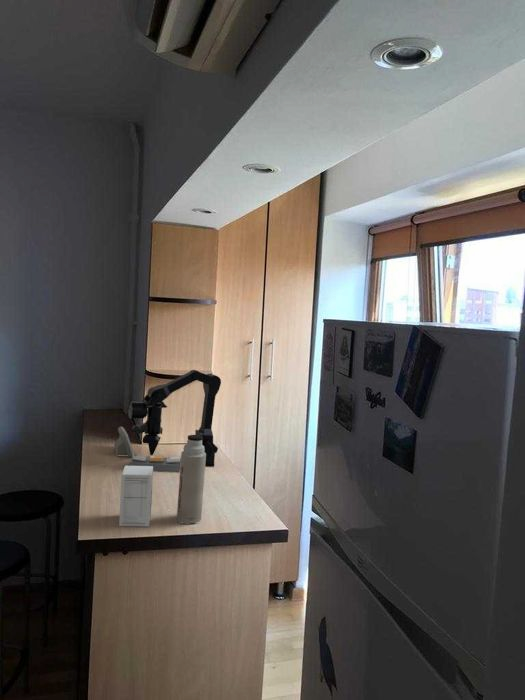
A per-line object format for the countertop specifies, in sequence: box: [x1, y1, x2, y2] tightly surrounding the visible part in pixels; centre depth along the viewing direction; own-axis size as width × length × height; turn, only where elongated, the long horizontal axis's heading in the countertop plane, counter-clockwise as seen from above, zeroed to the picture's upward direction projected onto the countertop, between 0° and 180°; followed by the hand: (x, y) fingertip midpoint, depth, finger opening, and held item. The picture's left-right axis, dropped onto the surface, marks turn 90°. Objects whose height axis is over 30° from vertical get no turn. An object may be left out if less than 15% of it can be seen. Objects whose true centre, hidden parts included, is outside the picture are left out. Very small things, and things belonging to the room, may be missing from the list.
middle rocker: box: [149, 455, 164, 461], centre depth 229 cm, size 5×3×1 cm, turn 95°
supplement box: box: [118, 465, 154, 528], centre depth 176 cm, size 10×9×17 cm
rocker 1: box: [131, 453, 146, 461], centre depth 228 cm, size 5×3×1 cm, turn 95°
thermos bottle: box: [176, 434, 206, 524], centre depth 180 cm, size 8×8×28 cm
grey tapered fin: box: [114, 426, 135, 458], centre depth 247 cm, size 16×9×11 cm, turn 11°
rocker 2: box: [166, 455, 181, 462], centre depth 229 cm, size 5×3×1 cm, turn 95°
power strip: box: [130, 455, 181, 474], centre depth 231 cm, size 20×10×3 cm, turn 95°
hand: (151, 454), depth 228 cm, fingers closed
